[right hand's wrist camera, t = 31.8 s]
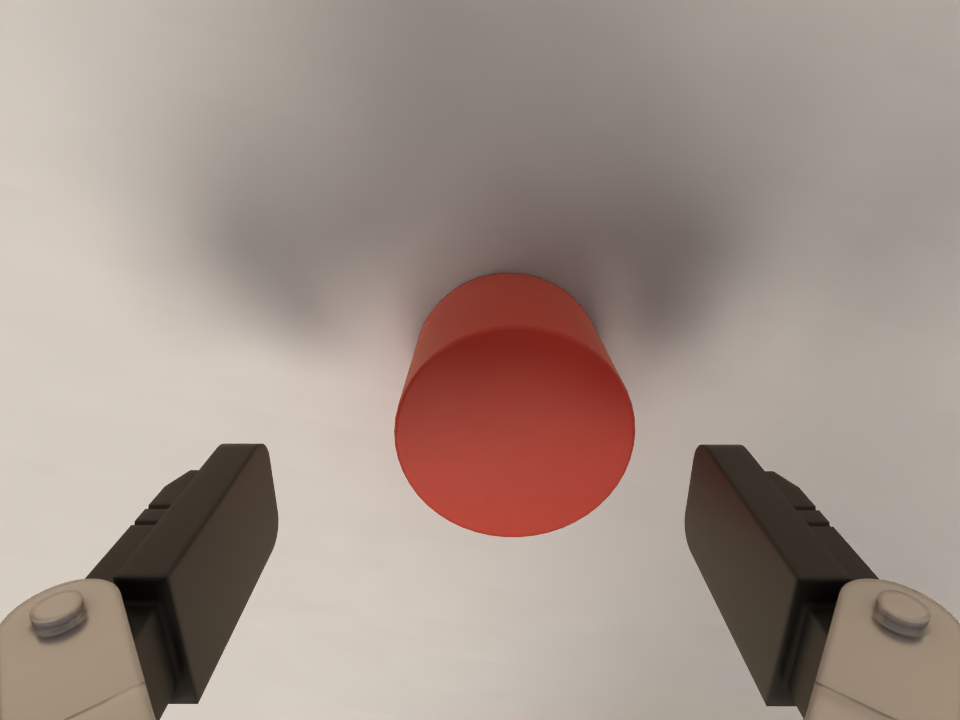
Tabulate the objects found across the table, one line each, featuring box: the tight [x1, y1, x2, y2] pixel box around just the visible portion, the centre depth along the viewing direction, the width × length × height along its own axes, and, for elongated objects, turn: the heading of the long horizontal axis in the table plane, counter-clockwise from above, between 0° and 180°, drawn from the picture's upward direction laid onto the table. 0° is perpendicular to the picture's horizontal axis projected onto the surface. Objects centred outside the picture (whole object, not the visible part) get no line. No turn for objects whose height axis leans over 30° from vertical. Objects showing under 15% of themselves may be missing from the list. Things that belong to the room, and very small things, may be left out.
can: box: [394, 273, 635, 537], centre depth 14 cm, size 5×5×4 cm
